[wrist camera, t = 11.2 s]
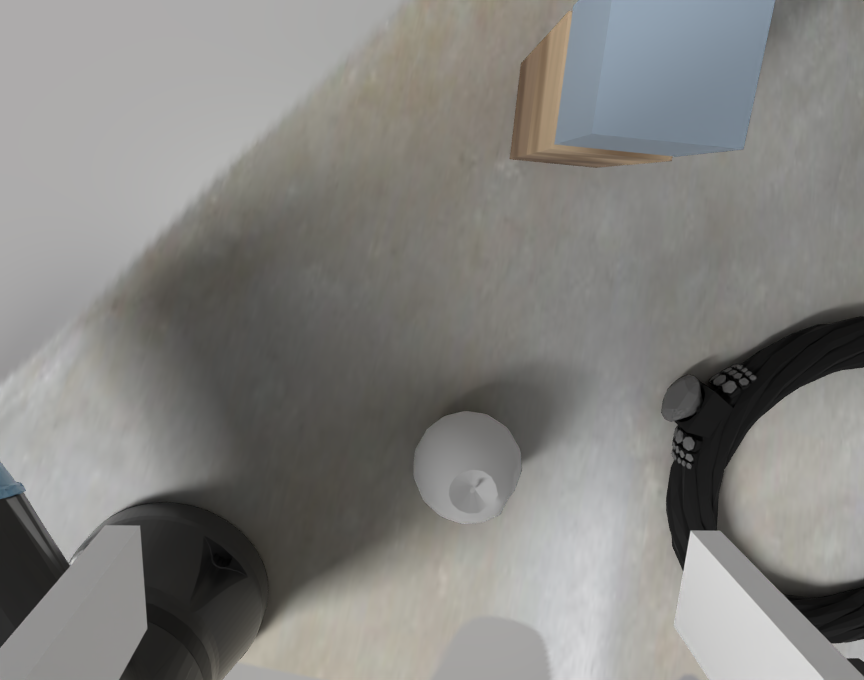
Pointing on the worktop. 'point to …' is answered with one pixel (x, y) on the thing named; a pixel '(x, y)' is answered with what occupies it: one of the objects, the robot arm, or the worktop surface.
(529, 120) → the tower lower block
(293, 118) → the worktop surface
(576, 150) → the tower upper block
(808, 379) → the ring
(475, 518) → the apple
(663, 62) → the slate block
